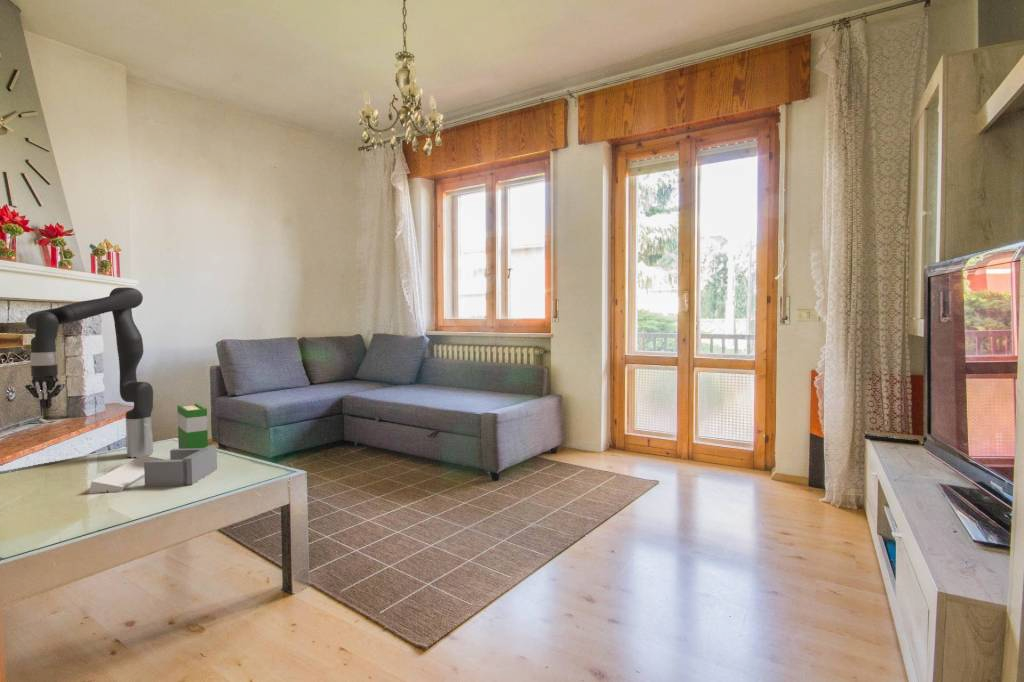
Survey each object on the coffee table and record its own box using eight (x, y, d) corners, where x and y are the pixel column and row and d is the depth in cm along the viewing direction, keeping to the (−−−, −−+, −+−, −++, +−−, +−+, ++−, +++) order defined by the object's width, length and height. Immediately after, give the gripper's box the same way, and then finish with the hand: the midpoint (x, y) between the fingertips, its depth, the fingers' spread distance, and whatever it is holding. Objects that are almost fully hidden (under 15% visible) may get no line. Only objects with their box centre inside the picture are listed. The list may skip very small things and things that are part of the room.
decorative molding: (164, 471, 213) (139, 466, 211) (167, 460, 213) (142, 455, 211) (119, 499, 180) (88, 494, 178) (122, 487, 180) (91, 481, 178)
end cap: (174, 470, 204) (173, 446, 203) (217, 469, 205) (216, 445, 205) (144, 486, 185) (143, 459, 184) (192, 485, 186) (191, 458, 186)
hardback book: (179, 459, 219) (177, 405, 218) (198, 456, 224) (197, 403, 223) (187, 468, 206) (186, 411, 205) (208, 465, 212) (206, 408, 210)
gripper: (70, 362, 197) (72, 406, 198) (33, 363, 196) (35, 407, 197) (54, 364, 190) (56, 410, 191) (16, 365, 189) (19, 410, 189)
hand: (46, 408), depth 194 cm, fingers closed
